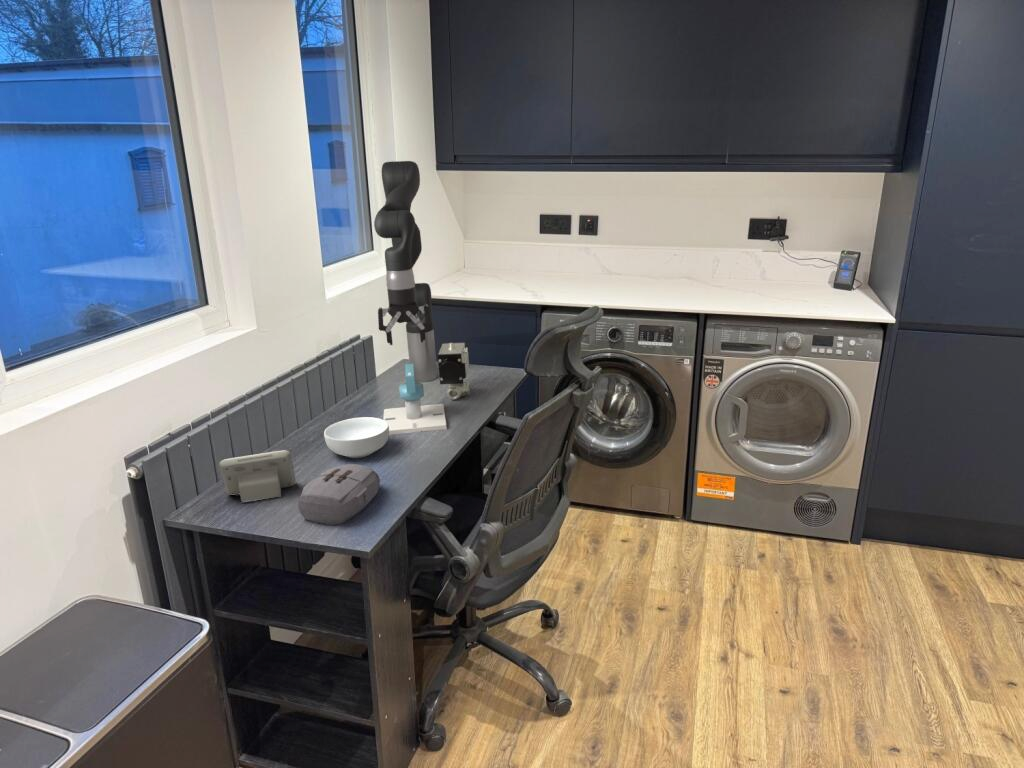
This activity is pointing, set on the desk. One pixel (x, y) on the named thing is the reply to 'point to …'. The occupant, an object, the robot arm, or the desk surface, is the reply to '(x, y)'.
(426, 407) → the base plate
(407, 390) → the blue switch lever
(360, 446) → the cereal bowl
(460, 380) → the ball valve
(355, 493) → the small grey backpack
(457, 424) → the desk surface
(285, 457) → the digital clock
